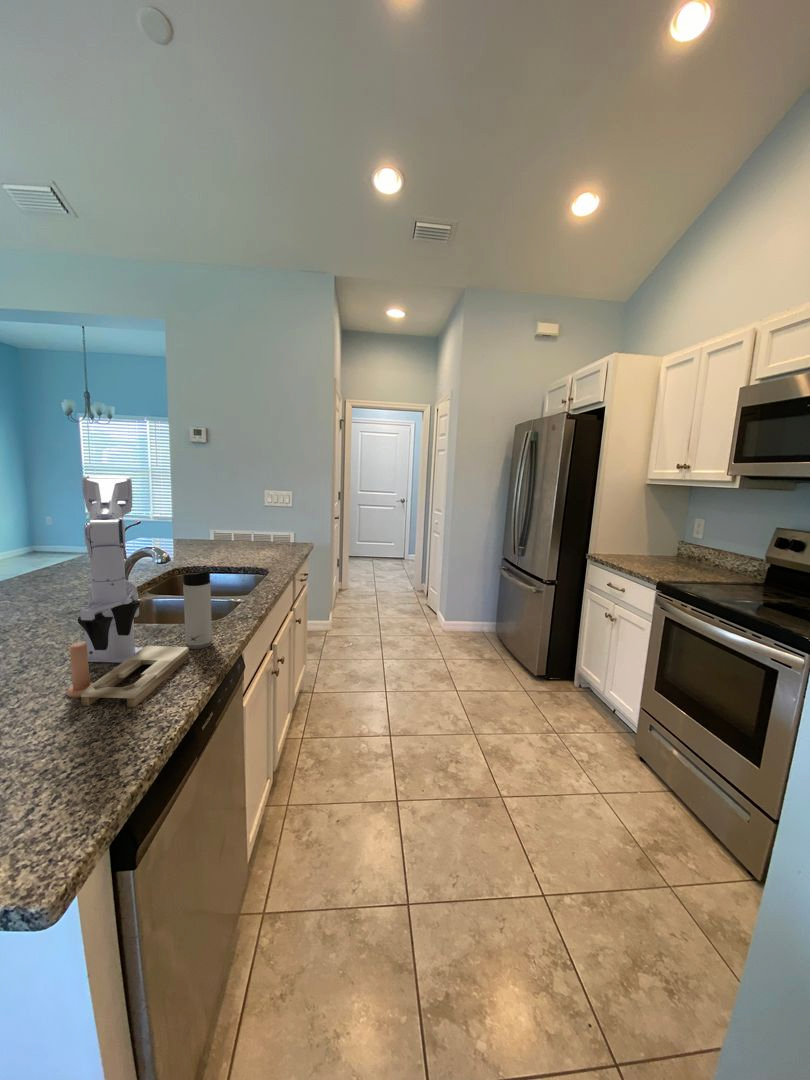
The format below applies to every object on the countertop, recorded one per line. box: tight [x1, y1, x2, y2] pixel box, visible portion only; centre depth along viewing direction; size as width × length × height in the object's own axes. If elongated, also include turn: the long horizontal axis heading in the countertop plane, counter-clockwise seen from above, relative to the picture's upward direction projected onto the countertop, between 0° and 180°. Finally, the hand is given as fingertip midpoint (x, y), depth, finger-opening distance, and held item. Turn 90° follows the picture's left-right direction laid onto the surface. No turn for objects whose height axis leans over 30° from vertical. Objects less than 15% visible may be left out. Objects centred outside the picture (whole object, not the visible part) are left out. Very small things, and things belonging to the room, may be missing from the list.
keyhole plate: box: [80, 645, 190, 708], centre depth 94 cm, size 10×22×3 cm, turn 1°
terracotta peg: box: [67, 642, 94, 698], centre depth 87 cm, size 4×4×10 cm
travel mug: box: [182, 570, 213, 650], centre depth 111 cm, size 6×7×20 cm
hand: (112, 641), depth 89 cm, fingers open, 7 cm apart
